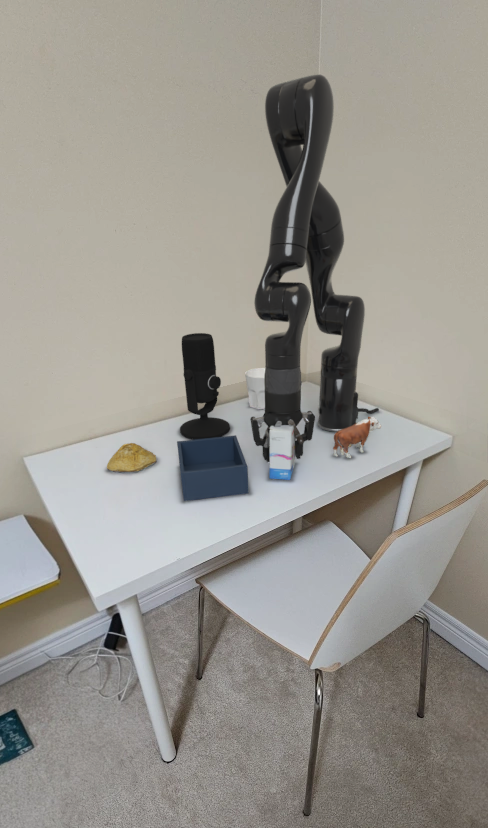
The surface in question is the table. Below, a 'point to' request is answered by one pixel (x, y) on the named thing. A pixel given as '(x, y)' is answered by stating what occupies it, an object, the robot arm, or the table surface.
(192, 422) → the microphone
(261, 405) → the cup
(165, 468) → the table surface
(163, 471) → the table surface
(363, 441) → the bull figurine
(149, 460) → the fossil
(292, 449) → the ink box
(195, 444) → the box
